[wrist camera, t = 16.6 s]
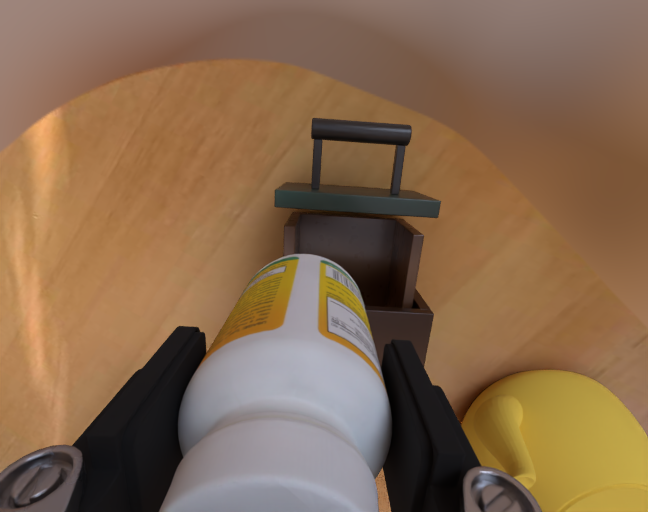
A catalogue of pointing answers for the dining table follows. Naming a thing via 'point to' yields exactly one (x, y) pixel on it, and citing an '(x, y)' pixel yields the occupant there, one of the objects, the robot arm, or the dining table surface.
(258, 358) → the supplement bottle
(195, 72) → the dining table surface
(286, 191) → the drawer
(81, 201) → the dining table surface
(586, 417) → the teapot
